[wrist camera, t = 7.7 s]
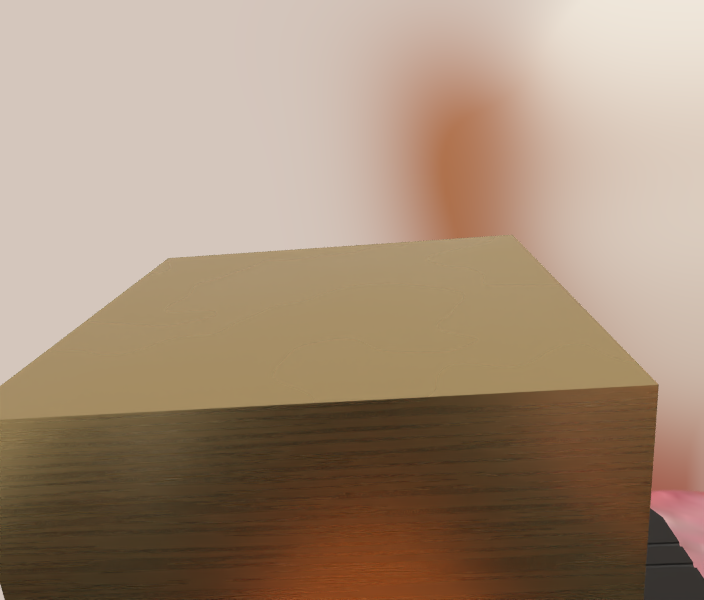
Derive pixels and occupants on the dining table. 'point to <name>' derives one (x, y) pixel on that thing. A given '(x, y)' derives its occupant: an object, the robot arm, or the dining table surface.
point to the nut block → (331, 436)
